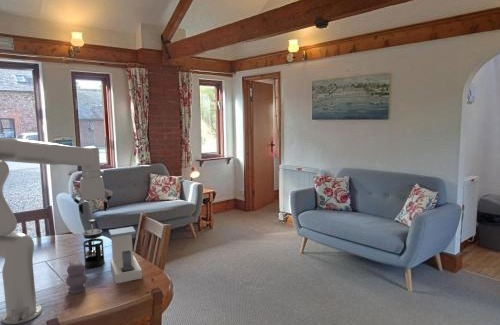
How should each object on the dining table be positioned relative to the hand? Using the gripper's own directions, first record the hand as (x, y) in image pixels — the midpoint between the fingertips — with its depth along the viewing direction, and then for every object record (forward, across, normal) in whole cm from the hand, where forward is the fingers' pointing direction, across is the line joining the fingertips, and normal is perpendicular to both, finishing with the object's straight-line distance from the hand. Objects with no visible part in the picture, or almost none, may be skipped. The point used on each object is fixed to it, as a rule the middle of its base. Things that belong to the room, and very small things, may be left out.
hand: (93, 211), depth 165 cm
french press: (+30, 0, -12) cm, 33 cm away
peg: (+30, -12, +10) cm, 34 cm away
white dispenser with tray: (+30, -12, +4) cm, 33 cm away
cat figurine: (+30, +9, +12) cm, 34 cm away
